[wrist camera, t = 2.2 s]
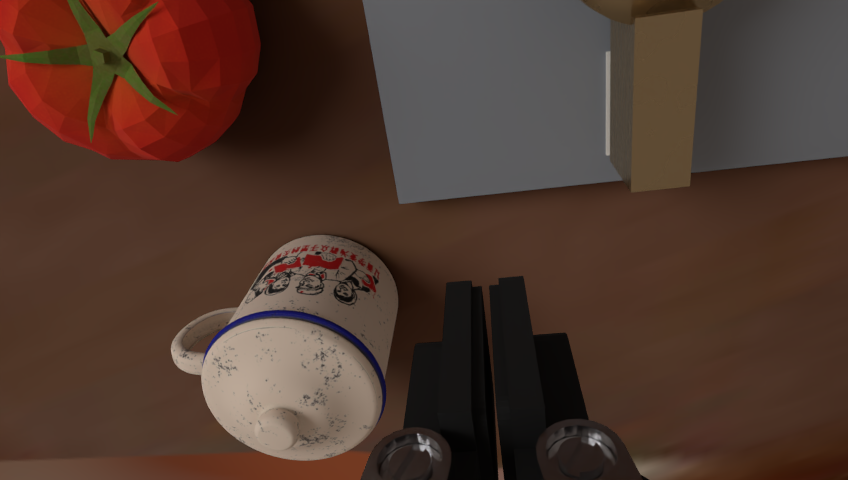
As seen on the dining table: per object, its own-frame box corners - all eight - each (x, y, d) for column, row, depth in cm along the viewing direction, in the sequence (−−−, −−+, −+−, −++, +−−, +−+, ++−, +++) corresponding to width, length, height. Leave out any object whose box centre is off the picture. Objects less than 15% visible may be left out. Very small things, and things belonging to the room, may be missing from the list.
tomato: (98, 132, 31) (0, 183, 25) (41, -98, 26) (-102, -111, 20) (288, 141, 31) (240, 196, 24) (268, -91, 26) (200, -103, 19)
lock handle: (535, -194, 21) (550, -222, 18) (760, -236, 20) (825, -276, 17) (551, 166, 28) (564, 201, 24) (721, 147, 27) (762, 180, 23)
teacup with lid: (400, 229, 33) (370, 360, 23) (405, 353, 37) (381, 511, 27) (199, 226, 34) (82, 351, 23) (226, 348, 38) (137, 499, 28)
